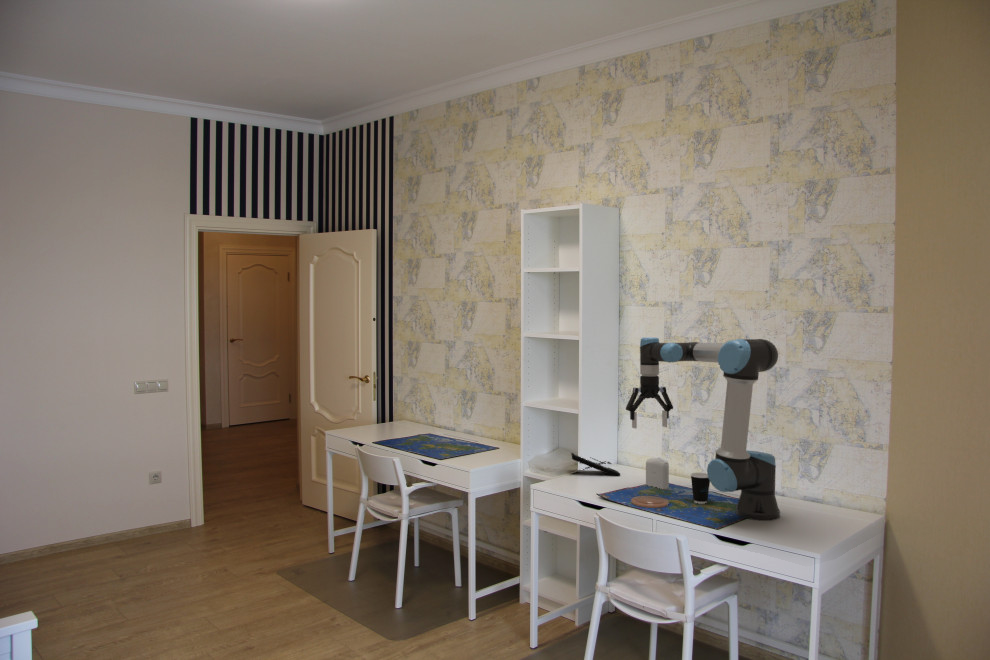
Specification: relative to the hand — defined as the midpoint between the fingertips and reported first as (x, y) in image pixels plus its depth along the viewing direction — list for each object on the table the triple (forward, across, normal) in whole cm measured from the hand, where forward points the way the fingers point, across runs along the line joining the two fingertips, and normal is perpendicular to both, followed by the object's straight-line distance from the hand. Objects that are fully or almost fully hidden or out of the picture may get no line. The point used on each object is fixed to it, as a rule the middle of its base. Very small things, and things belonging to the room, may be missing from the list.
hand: (649, 427), depth 297 cm
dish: (+27, +8, +16) cm, 32 cm away
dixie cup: (+27, -11, +20) cm, 35 cm away
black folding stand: (+26, +9, -35) cm, 45 cm away
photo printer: (+27, -7, -6) cm, 28 cm away
